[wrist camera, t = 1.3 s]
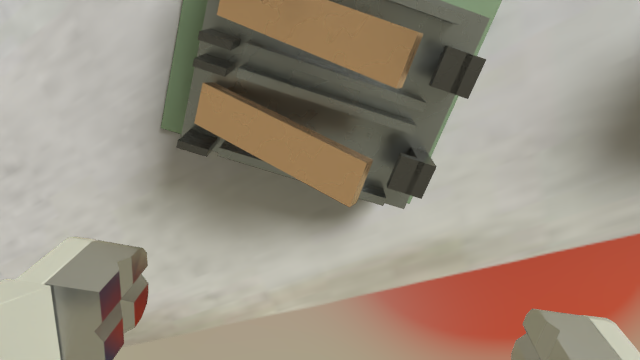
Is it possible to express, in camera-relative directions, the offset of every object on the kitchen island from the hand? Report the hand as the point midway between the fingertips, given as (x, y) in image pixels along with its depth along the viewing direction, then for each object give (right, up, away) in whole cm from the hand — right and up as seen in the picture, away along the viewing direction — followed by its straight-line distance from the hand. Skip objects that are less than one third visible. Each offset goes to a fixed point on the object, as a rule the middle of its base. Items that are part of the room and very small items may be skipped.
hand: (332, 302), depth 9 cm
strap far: (-3, +5, +17) cm, 18 cm away
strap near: (-1, +11, +14) cm, 18 cm away
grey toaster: (0, +11, +24) cm, 27 cm away
